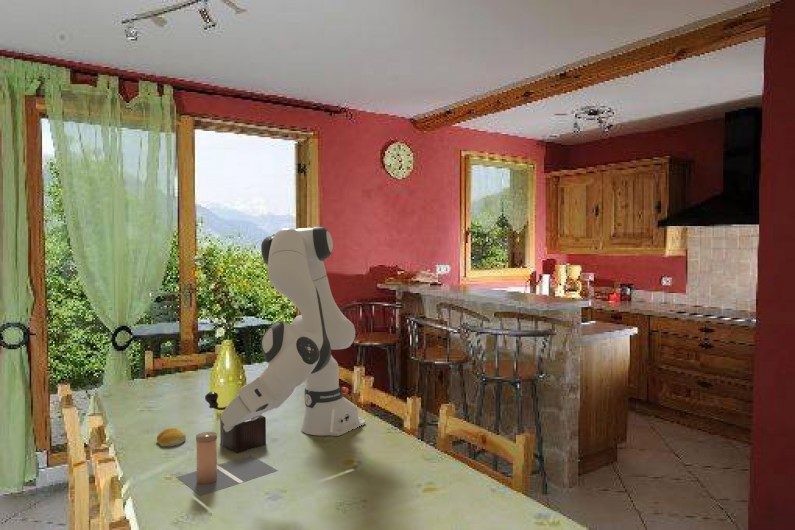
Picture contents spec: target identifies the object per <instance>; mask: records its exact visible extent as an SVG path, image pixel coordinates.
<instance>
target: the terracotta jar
mask: <svg viewBox="0 0 795 530" xmlns="http://www.w3.org/2000/svg"><path fill="white" fill-rule="evenodd" d="M217 439H218V434H217V432H215V431H203V432H201V433H197V434H196V436H195V441H196V442H195V443H196V445H195V447H196V449H195V450H196V451H195V452H196V471H197V483H199V484H210V483H213V482H215V481H216V480H217V465H218V463H217V461H218V458H217V457H218V456H217V454H218V453H217V452H218V451H217V450H218V449H217V444H218V442H217Z"/></svg>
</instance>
